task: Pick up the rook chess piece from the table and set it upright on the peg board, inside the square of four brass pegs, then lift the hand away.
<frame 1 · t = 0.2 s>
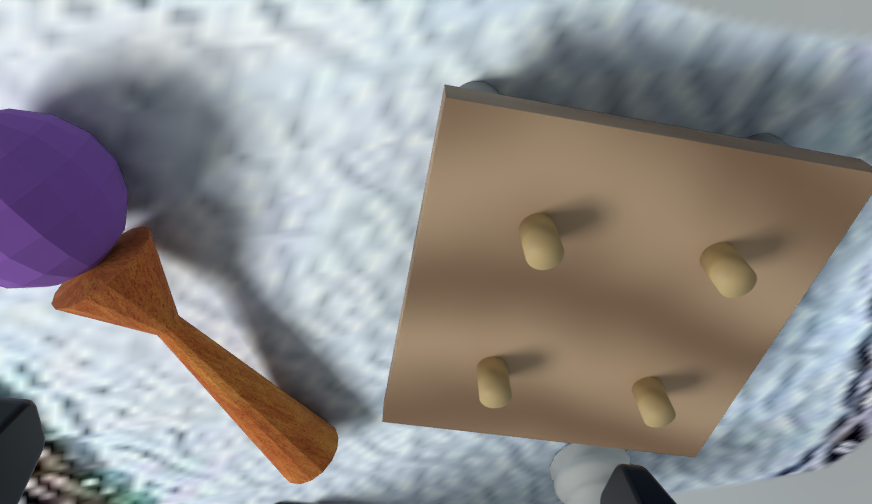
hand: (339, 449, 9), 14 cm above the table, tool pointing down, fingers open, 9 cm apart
peg board: (574, 255, 24), on the table
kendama: (194, 290, 26), on the table
rook chess piece: (587, 457, 32), on the table
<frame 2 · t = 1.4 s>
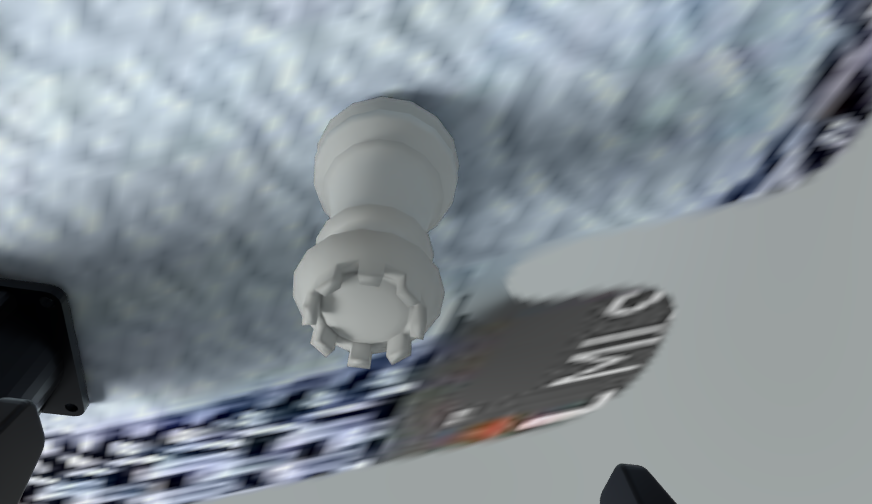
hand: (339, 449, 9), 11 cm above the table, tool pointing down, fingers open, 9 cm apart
rook chess piece: (388, 158, 18), on the table
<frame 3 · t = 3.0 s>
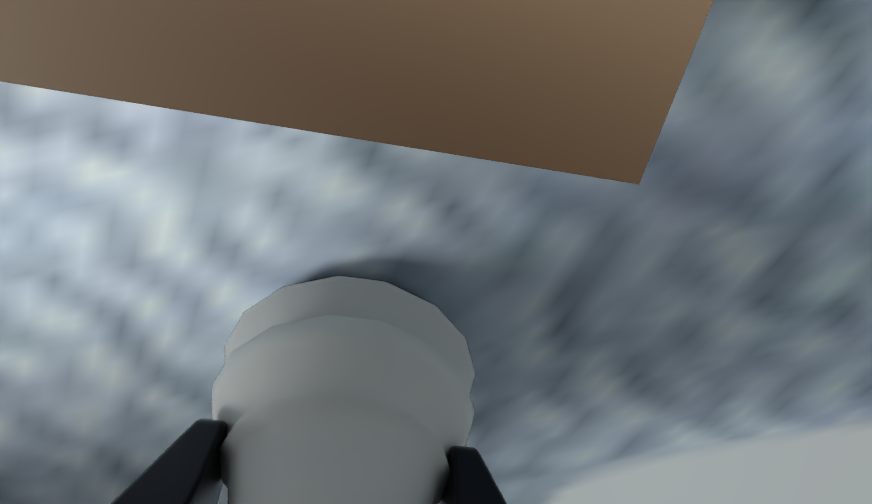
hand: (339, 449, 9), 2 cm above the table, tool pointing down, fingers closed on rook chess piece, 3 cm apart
rook chess piece: (354, 351, 11), on the table, touching gripper
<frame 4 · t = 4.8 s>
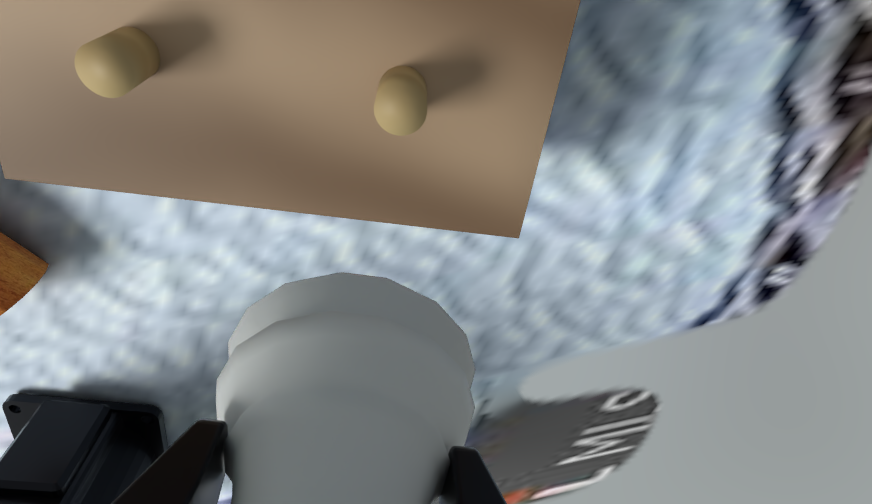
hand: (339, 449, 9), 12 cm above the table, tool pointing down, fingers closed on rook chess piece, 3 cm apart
rook chess piece: (356, 347, 11), point 10 cm above the table, touching gripper
when the fingers open (7 cm above the table, at t = 6.7 s): rook chess piece stays where it is, resting on peg board.
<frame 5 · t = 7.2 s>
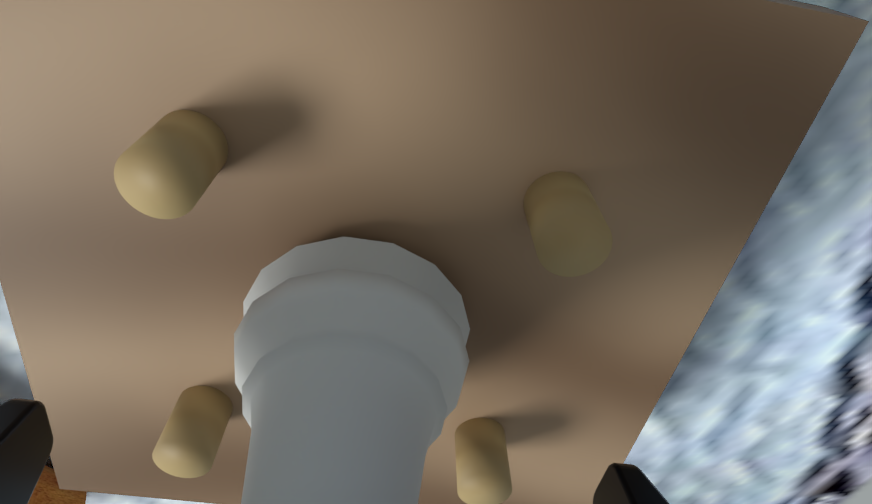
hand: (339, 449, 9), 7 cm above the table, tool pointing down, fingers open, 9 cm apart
peg board: (375, 218, 15), on the table
rook chess piece: (360, 310, 12), point 4 cm above the table, touching peg board
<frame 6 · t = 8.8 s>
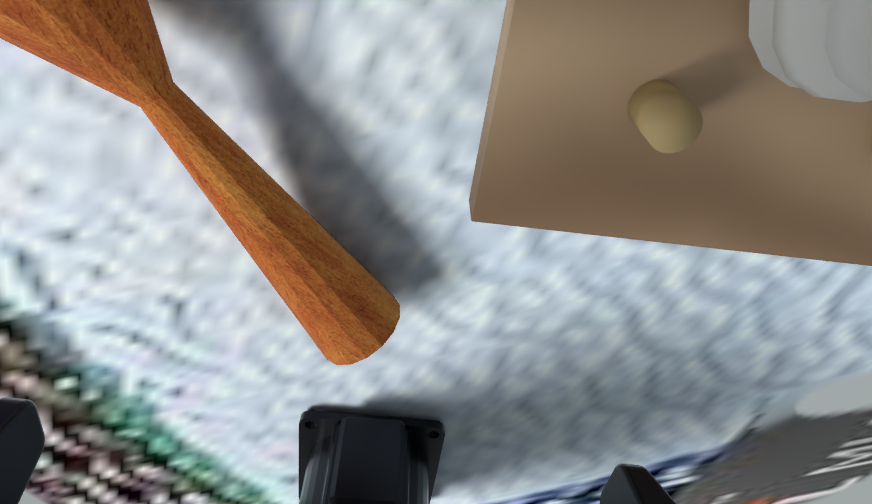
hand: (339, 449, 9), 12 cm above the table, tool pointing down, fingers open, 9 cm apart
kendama: (197, 74, 18), on the table
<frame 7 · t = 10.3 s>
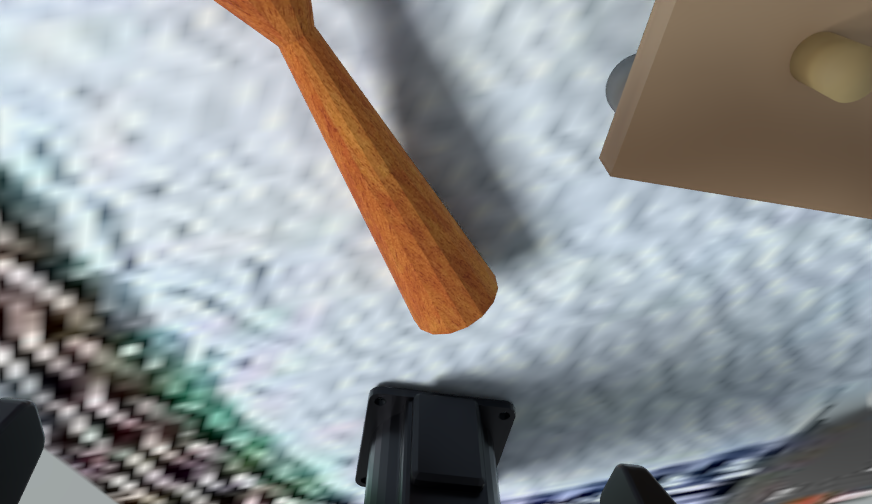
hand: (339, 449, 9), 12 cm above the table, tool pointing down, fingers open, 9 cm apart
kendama: (318, 26, 17), on the table
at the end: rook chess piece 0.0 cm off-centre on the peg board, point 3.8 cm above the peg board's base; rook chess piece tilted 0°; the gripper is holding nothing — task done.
